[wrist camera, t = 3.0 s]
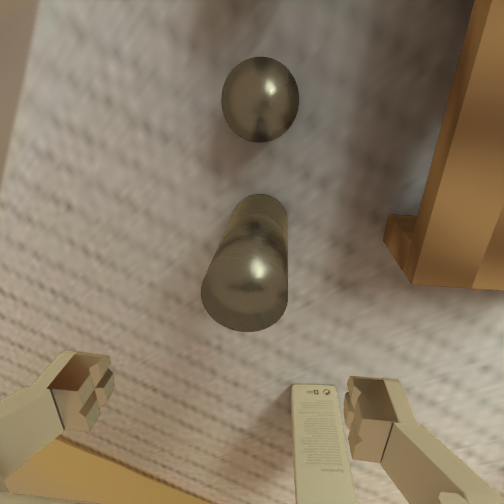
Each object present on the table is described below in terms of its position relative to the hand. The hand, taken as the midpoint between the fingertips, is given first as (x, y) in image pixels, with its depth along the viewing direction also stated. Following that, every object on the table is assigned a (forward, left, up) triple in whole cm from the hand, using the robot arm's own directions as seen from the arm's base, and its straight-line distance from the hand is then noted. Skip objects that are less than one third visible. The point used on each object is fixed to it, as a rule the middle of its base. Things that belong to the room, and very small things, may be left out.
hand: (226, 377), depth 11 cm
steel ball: (-8, 0, -15) cm, 17 cm away
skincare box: (+19, +6, -15) cm, 25 cm away
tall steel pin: (0, 0, -14) cm, 14 cm away
